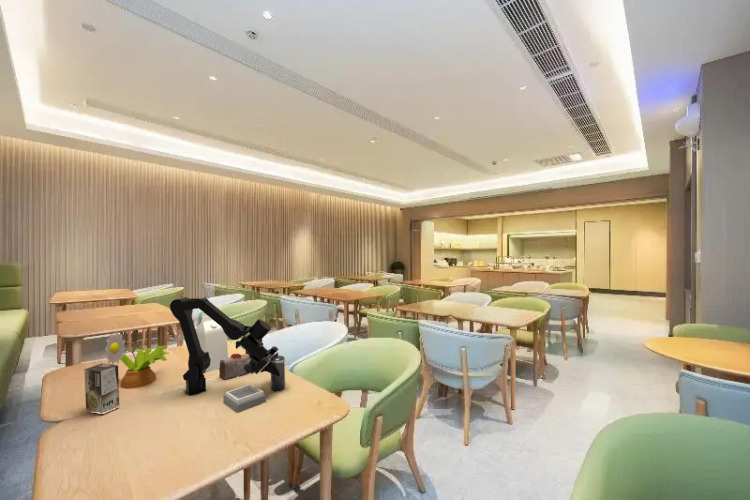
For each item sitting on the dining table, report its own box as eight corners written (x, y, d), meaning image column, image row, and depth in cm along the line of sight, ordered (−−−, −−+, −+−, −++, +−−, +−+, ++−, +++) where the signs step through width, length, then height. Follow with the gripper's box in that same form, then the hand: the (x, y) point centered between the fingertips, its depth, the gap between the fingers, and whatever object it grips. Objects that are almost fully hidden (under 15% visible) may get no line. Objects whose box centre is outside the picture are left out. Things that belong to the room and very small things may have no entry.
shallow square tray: (237, 412, 123) (237, 400, 122) (223, 402, 131) (223, 391, 131) (265, 401, 131) (265, 390, 131) (250, 392, 139) (250, 382, 139)
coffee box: (120, 407, 128) (119, 365, 127) (101, 416, 122) (100, 371, 121) (103, 404, 131) (102, 362, 130) (84, 412, 125) (83, 368, 124)
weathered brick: (246, 368, 167) (245, 348, 167) (254, 372, 162) (254, 351, 161) (217, 377, 157) (217, 355, 156) (225, 381, 151) (225, 359, 151)
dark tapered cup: (275, 393, 138) (274, 361, 138) (268, 389, 142) (267, 358, 142) (287, 388, 142) (287, 357, 142) (280, 384, 146) (279, 354, 146)
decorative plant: (93, 388, 146) (91, 330, 146) (149, 368, 168) (147, 318, 168) (135, 397, 136) (133, 335, 136) (188, 375, 158) (187, 322, 158)
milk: (216, 361, 178) (215, 311, 178) (228, 365, 171) (227, 314, 171) (193, 368, 168) (191, 315, 168) (205, 373, 162) (203, 318, 161)
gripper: (247, 354, 151) (273, 378, 151) (231, 369, 132) (260, 396, 133) (265, 336, 151) (291, 360, 152) (251, 348, 132) (280, 376, 133)
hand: (281, 373), depth 142 cm, fingers closed on dark tapered cup, 6 cm apart
